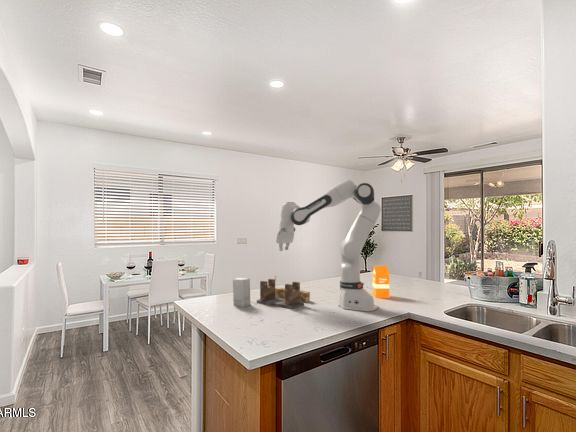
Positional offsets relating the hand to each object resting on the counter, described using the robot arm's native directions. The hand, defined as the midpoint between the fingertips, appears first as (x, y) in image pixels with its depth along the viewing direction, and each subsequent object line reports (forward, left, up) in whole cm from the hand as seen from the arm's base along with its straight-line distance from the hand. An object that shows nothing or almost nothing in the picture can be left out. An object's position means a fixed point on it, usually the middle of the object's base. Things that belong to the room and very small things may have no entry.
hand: (283, 250), depth 195 cm
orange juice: (-46, -45, -32) cm, 72 cm away
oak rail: (-1, -7, -32) cm, 32 cm away
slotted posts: (-1, +6, -31) cm, 32 cm away
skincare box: (+16, +21, -32) cm, 41 cm away
